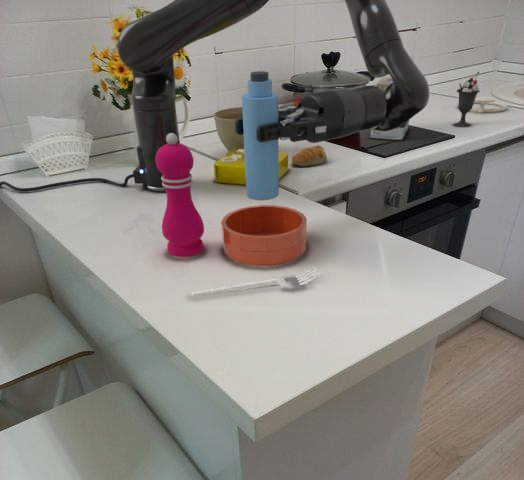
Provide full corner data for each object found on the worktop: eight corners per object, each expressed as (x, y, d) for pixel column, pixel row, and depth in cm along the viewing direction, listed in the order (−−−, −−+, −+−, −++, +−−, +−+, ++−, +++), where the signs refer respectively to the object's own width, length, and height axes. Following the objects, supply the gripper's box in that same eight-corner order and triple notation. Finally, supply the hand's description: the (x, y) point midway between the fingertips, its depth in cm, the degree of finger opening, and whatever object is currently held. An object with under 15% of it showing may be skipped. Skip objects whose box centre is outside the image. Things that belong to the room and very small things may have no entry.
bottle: (244, 200, 81) (238, 75, 71) (248, 189, 86) (243, 70, 75) (277, 200, 81) (276, 75, 70) (279, 189, 85) (279, 69, 74)
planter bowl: (225, 146, 147) (222, 106, 141) (279, 147, 144) (278, 106, 138) (209, 162, 135) (205, 118, 128) (268, 164, 132) (267, 119, 125)
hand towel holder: (510, 91, 182) (509, 102, 166) (507, 105, 184) (506, 116, 169) (461, 89, 187) (456, 99, 172) (459, 102, 190) (453, 113, 174)
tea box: (403, 140, 147) (411, 84, 138) (369, 138, 150) (374, 83, 141) (408, 129, 158) (416, 76, 150) (376, 127, 161) (382, 75, 152)
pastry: (302, 169, 127) (302, 154, 124) (285, 164, 131) (285, 149, 129) (328, 162, 131) (329, 147, 129) (311, 157, 136) (311, 142, 133)
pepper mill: (171, 264, 85) (153, 141, 74) (161, 248, 91) (142, 131, 79) (211, 256, 88) (200, 135, 76) (199, 240, 93) (186, 125, 81)
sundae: (477, 125, 160) (488, 72, 151) (463, 128, 157) (474, 74, 148) (460, 121, 164) (470, 70, 155) (446, 124, 161) (455, 72, 152)
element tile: (270, 188, 116) (270, 167, 113) (212, 182, 120) (210, 162, 118) (290, 169, 127) (290, 149, 124) (236, 164, 132) (235, 145, 129)
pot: (217, 267, 84) (214, 237, 81) (230, 232, 96) (228, 204, 92) (304, 269, 83) (305, 238, 79) (306, 233, 94) (307, 205, 91)
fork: (190, 293, 77) (189, 282, 76) (314, 276, 81) (314, 265, 79) (193, 303, 75) (191, 292, 74) (320, 285, 78) (321, 274, 77)
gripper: (305, 84, 86) (220, 97, 79) (363, 96, 76) (273, 111, 69) (304, 130, 90) (224, 147, 83) (359, 147, 81) (274, 167, 73)
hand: (247, 130), depth 76 cm, fingers closed on bottle, 5 cm apart
